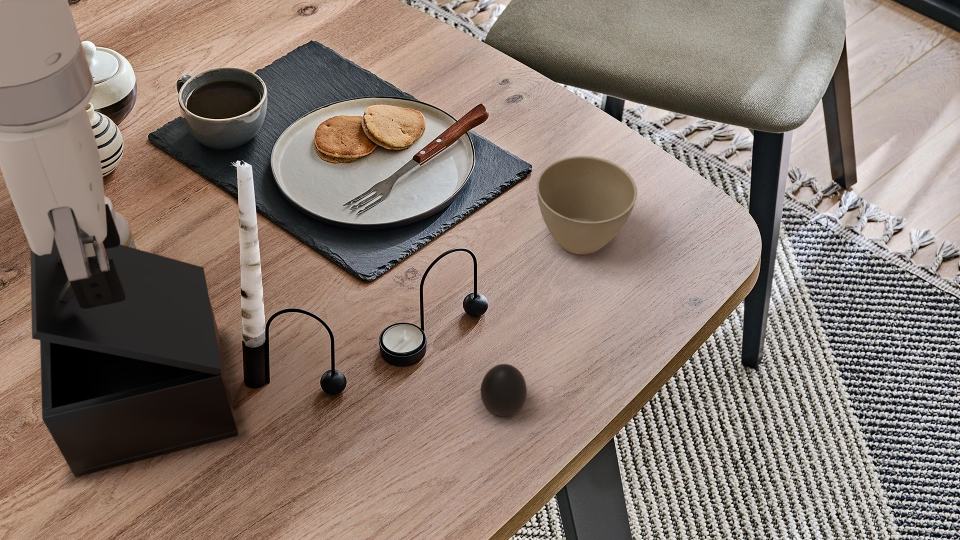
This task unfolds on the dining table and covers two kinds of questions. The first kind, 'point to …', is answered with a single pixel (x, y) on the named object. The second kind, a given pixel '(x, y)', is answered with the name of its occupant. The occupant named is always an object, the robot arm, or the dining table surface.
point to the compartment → (129, 407)
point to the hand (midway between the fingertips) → (101, 272)
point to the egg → (503, 390)
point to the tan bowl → (585, 201)
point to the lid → (130, 310)
